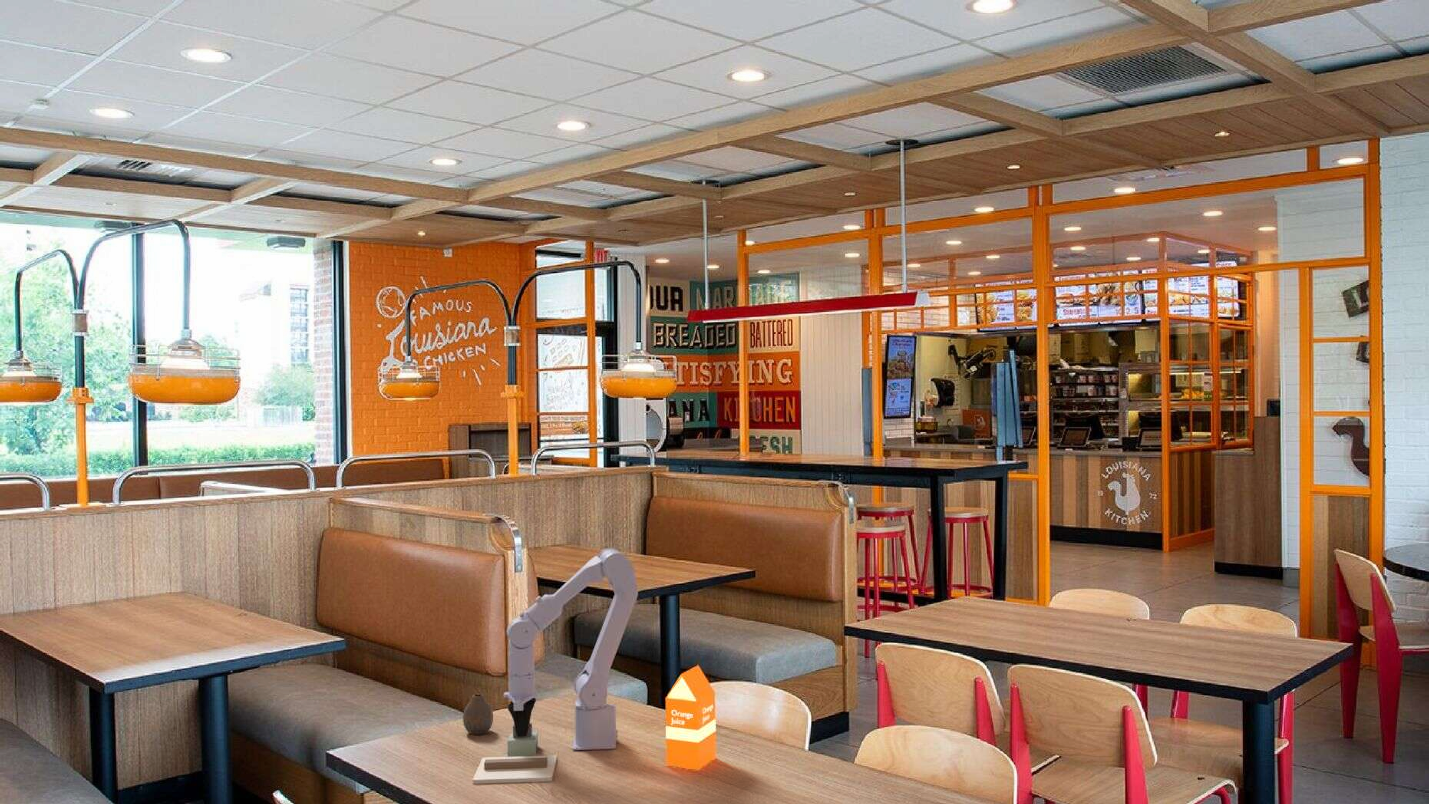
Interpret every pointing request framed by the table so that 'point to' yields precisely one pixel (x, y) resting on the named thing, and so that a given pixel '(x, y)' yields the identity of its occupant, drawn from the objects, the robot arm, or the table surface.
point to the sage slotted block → (522, 743)
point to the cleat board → (515, 769)
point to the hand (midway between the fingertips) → (522, 734)
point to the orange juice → (690, 721)
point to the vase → (478, 715)
